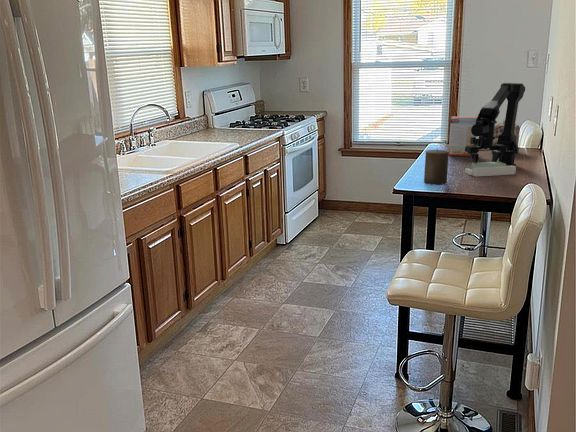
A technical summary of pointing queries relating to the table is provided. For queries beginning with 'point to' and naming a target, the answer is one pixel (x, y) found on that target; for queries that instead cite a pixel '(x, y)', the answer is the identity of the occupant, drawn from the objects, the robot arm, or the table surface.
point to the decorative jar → (499, 130)
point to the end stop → (491, 171)
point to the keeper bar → (487, 164)
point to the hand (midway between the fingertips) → (483, 166)
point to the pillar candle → (436, 167)
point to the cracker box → (460, 134)
